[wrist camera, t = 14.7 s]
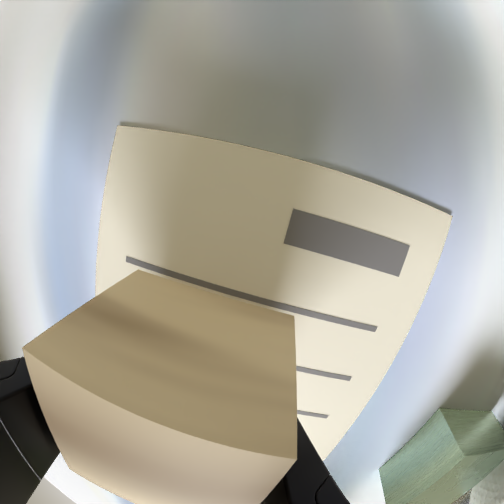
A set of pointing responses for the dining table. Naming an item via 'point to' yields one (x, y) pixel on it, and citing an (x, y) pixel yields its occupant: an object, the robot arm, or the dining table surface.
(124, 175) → the letter
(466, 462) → the translucent green block
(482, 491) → the cereal bowl
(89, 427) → the cube
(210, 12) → the dining table surface
